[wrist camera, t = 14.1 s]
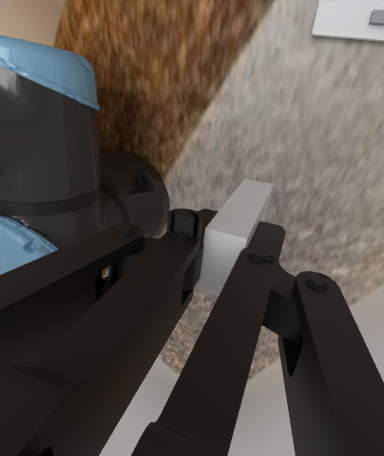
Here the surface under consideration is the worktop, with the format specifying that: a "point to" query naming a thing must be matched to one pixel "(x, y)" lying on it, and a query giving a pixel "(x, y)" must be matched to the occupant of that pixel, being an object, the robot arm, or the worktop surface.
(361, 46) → the worktop surface
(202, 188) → the worktop surface
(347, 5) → the panel
